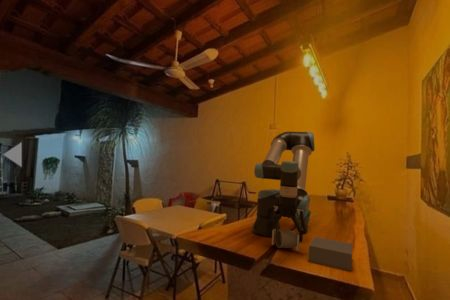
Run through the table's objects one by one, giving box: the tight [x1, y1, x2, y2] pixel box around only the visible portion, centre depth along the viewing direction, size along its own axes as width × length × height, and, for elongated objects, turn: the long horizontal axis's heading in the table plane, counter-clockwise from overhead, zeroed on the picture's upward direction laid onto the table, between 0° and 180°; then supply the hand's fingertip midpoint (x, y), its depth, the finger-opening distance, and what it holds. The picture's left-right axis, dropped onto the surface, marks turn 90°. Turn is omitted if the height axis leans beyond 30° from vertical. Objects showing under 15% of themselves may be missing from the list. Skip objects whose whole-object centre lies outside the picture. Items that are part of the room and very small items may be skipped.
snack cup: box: [296, 209, 312, 229], centre depth 154 cm, size 16×10×10 cm
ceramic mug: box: [275, 229, 298, 249], centre depth 113 cm, size 11×8×8 cm
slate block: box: [308, 236, 353, 272], centre depth 102 cm, size 15×15×6 cm
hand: (285, 246), depth 111 cm, fingers closed on ceramic mug, 10 cm apart
